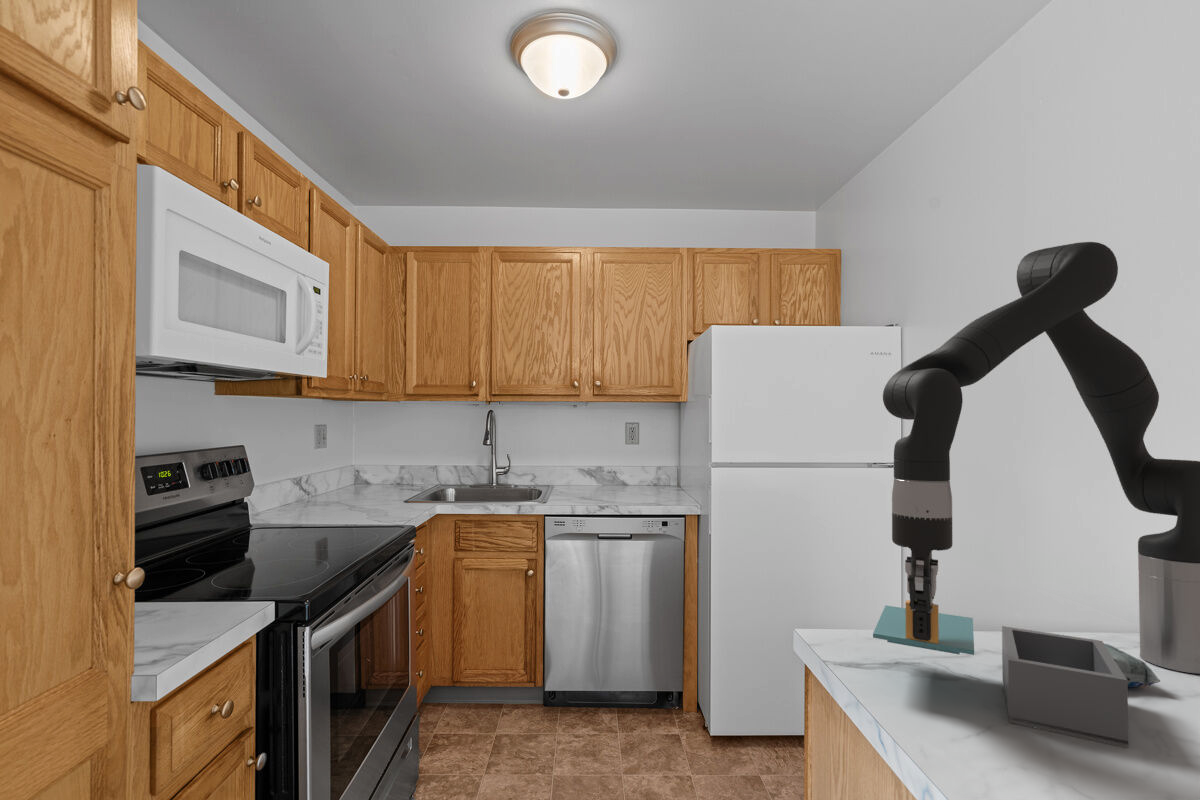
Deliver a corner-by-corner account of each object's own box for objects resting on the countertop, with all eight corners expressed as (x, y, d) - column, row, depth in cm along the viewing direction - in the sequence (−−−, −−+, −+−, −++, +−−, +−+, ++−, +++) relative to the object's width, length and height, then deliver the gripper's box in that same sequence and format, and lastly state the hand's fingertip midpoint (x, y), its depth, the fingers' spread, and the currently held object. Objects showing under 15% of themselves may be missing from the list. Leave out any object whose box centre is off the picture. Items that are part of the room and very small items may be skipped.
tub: (1002, 679, 95) (1002, 626, 95) (1103, 697, 89) (1102, 640, 89) (1008, 722, 81) (1008, 659, 81) (1128, 747, 75) (1127, 680, 75)
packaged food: (1098, 694, 90) (1098, 659, 90) (1046, 662, 102) (1046, 632, 102) (1162, 697, 89) (1162, 663, 90) (1103, 666, 101) (1103, 635, 101)
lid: (885, 613, 103) (885, 574, 103) (972, 627, 97) (972, 585, 97) (873, 643, 89) (872, 598, 89) (974, 661, 83) (973, 612, 83)
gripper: (951, 520, 80) (952, 658, 79) (953, 508, 91) (953, 628, 91) (886, 515, 83) (887, 647, 83) (896, 504, 95) (896, 619, 94)
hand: (922, 637), depth 87 cm, fingers closed on lid, 1 cm apart
